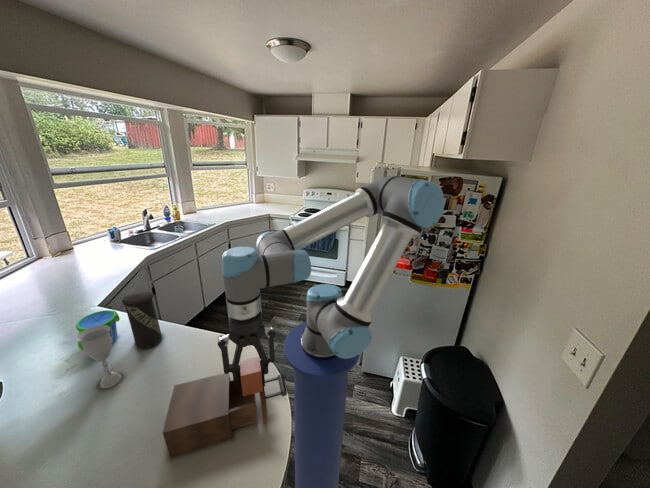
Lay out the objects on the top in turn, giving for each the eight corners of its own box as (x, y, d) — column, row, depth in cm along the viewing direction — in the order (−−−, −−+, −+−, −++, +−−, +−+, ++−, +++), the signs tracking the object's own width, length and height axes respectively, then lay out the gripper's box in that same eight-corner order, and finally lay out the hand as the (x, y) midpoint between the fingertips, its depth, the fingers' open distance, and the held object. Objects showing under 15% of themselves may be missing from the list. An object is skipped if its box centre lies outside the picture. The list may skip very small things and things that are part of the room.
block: (260, 375, 69) (259, 356, 67) (262, 391, 65) (261, 371, 63) (242, 380, 68) (239, 360, 65) (242, 396, 63) (240, 376, 61)
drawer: (282, 380, 77) (281, 363, 75) (289, 415, 67) (289, 397, 65) (218, 397, 71) (215, 379, 69) (215, 438, 61) (212, 419, 59)
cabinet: (232, 394, 73) (229, 372, 70) (232, 438, 62) (228, 414, 59) (179, 407, 69) (174, 384, 66) (169, 457, 58) (162, 433, 55)
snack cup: (99, 359, 83) (90, 335, 79) (68, 357, 83) (58, 333, 80) (134, 328, 98) (128, 306, 94) (108, 327, 98) (101, 305, 94)
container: (142, 353, 86) (128, 304, 79) (130, 343, 90) (115, 295, 84) (168, 338, 93) (157, 292, 86) (155, 329, 97) (144, 285, 90)
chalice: (88, 391, 72) (68, 341, 66) (107, 371, 79) (90, 324, 73) (114, 390, 73) (97, 341, 66) (131, 371, 79) (116, 325, 73)
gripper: (200, 329, 52) (214, 408, 60) (286, 314, 58) (288, 387, 66) (204, 309, 59) (216, 382, 67) (280, 297, 64) (283, 366, 73)
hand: (252, 385), depth 66 cm, fingers closed on block, 5 cm apart
